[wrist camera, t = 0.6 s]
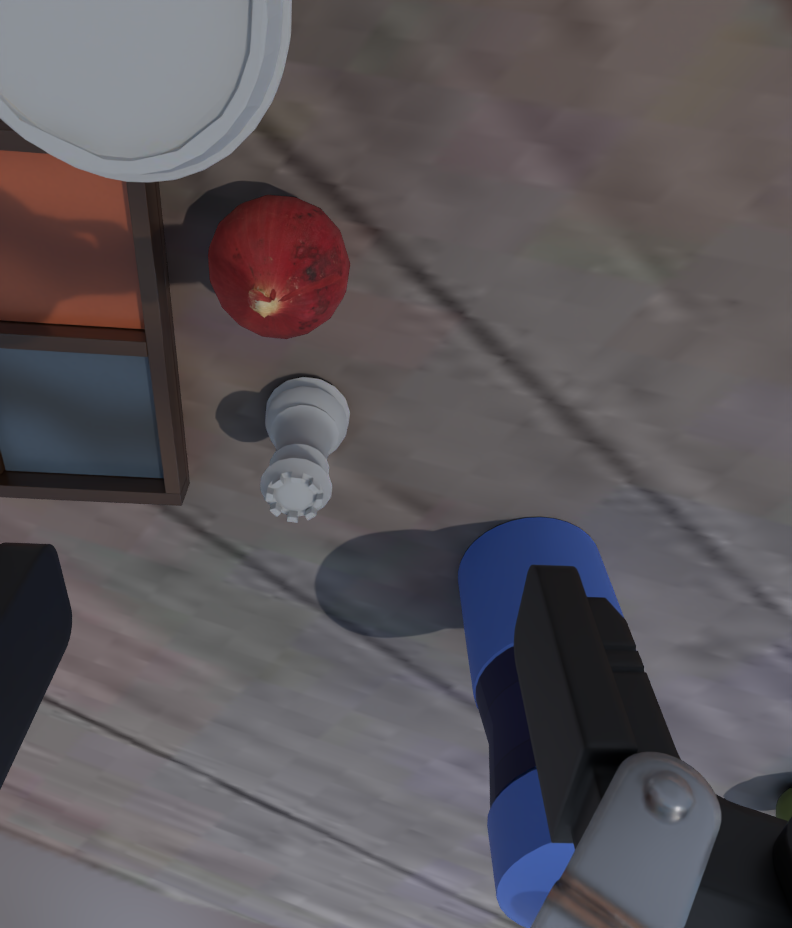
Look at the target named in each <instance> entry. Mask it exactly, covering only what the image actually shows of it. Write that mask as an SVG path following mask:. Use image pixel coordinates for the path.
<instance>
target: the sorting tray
mask: <svg viewBox="0 0 792 928" xmlns="http://www.w3.org/2000/svg"><path fill="white" fill-rule="evenodd" d="M189 484H190V482H189V472H188V462H187V453H186V443H185V433H184V424H183V414H182V404H181V394H180V385H179V375H178V365H177V356H176V346H175V336H174V326H173V317H172V307H171V297H170V288H169V278H168V268H167V258H166V249H165V239H164V229H163V220H162V210H161V200H160V190H159V181H158V182H126V181H121V180H115V179H110V178H105V177H102V176H99V175H96V174H93V173H90V172H87V171H84V170H81V169H78V168H75V167H73V166H71V165H69V164H68V163H66V162H64V161H62V160H60V159H58V158H56V157H54V156H52V155H50V154H49V153H47V152H46V151H44V150H43V149H41V148H39V147H38V146H36V145H34V144H32V143H31V142H29V141H27V140H25V139H24V138H23V137H22V136H20V135H19V134H18V133H17V132H16V131H14V130H13V129H12V128H11V127H9V126H8V125H7V124H6V123H5V122H3V121H2V120H1V119H0V497H10V498H31V499H52V500H73V501H94V502H115V503H136V504H157V505H178V506H181V505H182V503H183V500H184V498H185V495H186V492H187V489H188V486H189Z"/></svg>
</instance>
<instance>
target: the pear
mask: <svg viewBox="0 0 792 928" xmlns="http://www.w3.org/2000/svg"><path fill="white" fill-rule="evenodd" d="M776 817H777V818H780V819H783V820H786V821H789V820H790V818H791V817H792V787H791V788H789V789H788V790H786V791H785V792H784V793H783V794H782V795H781V796H780V798H779V799H778V802H777V805H776Z"/></svg>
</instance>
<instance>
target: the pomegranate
mask: <svg viewBox="0 0 792 928" xmlns="http://www.w3.org/2000/svg"><path fill="white" fill-rule="evenodd" d="M208 259H209V275H210V282H211V284H212V286H213V289H214V291H215V293H216V295H217V297H218V299H219V301H220V304H221V306H222V308H223V309H224V310H225V311H226V312H227V313H228V314H229V315H230V316H231V317H232V318H233V319H234V320H235V321H236V322H237V323H238V324H239V325H240V326H242V327H244V328H246V329H248V330H250V331H252V332H254V333H256V334H258V335H260V336H263V337H272V338H281V339H288V338H292V337H296V336H300V335H304V334H308V333H309V332H311V331H312V330H314V329H315V328H317V327H318V326H320V325H321V324H323V323H324V322H326V321H327V320H329V319H330V318H331V316H332V315H333V313H334V312H335V310H336V308H337V307H338V305H339V304H340V302H341V300H342V299H343V297H344V295H345V293H346V288H347V282H348V275H349V269H350V261H349V258H348V255H347V252H346V248H345V245H344V242H343V238H342V235H341V232H340V230H339V229H338V227H337V226H336V225H335V224H334V223H333V222H332V221H331V220H330V218H329V217H328V216H327V215H326V214H325V213H324V212H323V211H322V210H321V208H319V207H316V206H314V205H312V204H309V203H307V202H305V201H303V200H300V199H298V198H296V197H288V196H276V195H265V196H262V197H260V198H257V199H253V200H250V201H247V202H244V203H242V204H240V205H239V206H237V207H236V208H235V209H234V210H233V211H232V212H231V213H230V214H229V215H227V216H226V217H225V218H224V219H223V220H222V221H221V222H220V223H219V224H218V227H217V229H216V232H215V234H214V237H213V239H212V242H211V244H210V246H209V252H208Z"/></svg>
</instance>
